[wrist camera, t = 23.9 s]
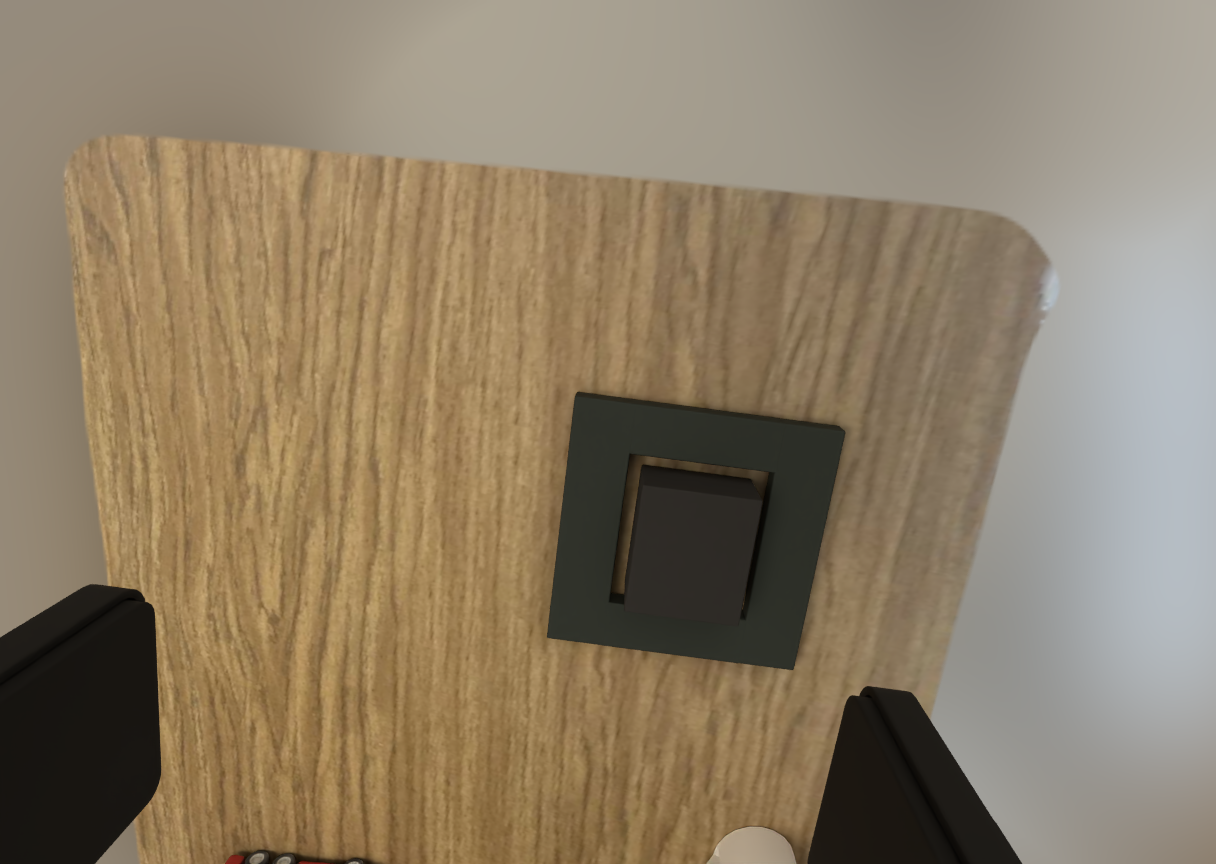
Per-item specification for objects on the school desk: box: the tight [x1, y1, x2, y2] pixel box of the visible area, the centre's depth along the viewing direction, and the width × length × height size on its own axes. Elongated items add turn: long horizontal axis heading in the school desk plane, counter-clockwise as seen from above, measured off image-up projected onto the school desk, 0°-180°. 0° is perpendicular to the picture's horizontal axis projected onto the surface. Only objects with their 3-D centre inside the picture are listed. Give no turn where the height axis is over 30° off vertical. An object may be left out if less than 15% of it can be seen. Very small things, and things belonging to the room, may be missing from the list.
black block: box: [624, 465, 763, 626], centre depth 37 cm, size 7×6×4 cm
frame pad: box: [547, 392, 845, 670], centre depth 38 cm, size 14×14×1 cm
